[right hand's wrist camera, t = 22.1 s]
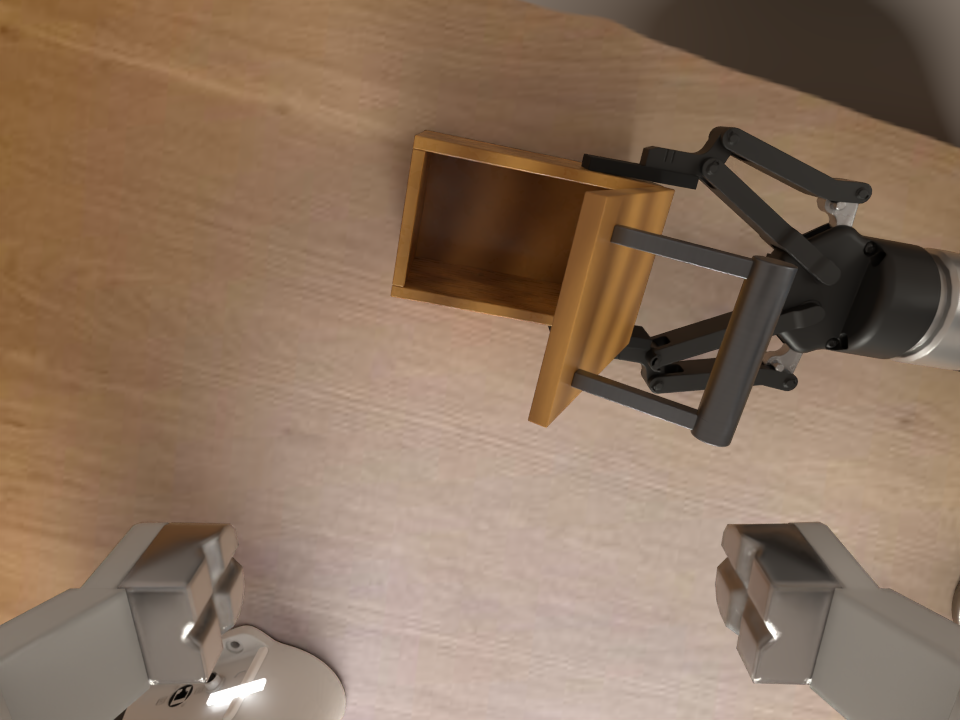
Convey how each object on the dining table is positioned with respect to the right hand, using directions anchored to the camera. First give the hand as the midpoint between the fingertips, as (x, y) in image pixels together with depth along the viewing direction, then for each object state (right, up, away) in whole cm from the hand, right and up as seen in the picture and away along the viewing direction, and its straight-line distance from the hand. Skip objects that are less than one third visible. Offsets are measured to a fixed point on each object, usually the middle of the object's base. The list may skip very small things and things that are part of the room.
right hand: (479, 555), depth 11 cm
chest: (+2, +14, +36) cm, 38 cm away
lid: (+6, +7, +21) cm, 23 cm away
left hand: (+6, +10, +29) cm, 32 cm away
